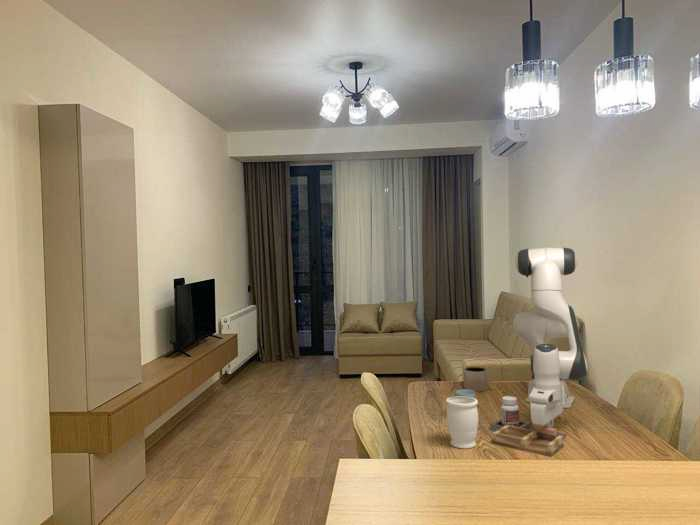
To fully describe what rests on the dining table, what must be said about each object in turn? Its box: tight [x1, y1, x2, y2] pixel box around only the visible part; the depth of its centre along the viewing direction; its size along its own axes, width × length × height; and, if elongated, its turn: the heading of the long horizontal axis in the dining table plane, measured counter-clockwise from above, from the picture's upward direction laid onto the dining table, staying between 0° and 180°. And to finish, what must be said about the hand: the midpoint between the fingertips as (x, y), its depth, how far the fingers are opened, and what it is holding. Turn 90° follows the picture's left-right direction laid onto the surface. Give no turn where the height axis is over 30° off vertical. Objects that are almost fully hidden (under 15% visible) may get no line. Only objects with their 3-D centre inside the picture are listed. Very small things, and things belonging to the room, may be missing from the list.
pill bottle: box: [500, 395, 520, 427], centre depth 189 cm, size 6×6×11 cm
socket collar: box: [490, 418, 531, 432], centre depth 189 cm, size 10×10×2 cm
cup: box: [454, 389, 476, 399], centre depth 203 cm, size 8×8×10 cm
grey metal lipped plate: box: [537, 432, 568, 441], centre depth 179 cm, size 10×9×3 cm
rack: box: [491, 425, 565, 457], centre depth 173 cm, size 11×20×4 cm, turn 49°
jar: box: [446, 395, 479, 450], centre depth 175 cm, size 11×10×15 cm
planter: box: [463, 366, 489, 393], centre depth 248 cm, size 11×11×10 cm
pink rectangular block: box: [532, 425, 557, 436], centre depth 177 cm, size 2×7×4 cm, turn 49°
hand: (548, 432), depth 179 cm, fingers closed
